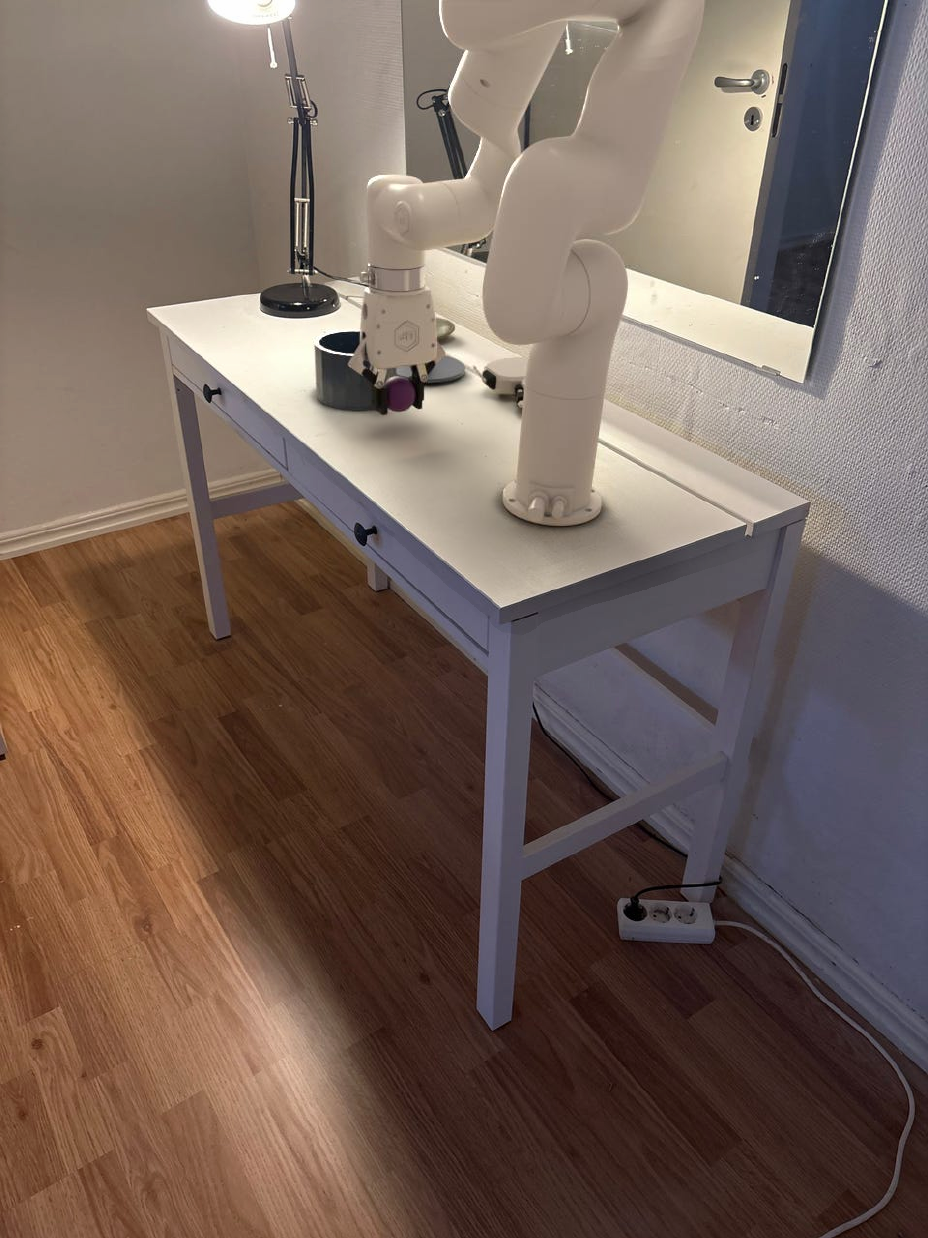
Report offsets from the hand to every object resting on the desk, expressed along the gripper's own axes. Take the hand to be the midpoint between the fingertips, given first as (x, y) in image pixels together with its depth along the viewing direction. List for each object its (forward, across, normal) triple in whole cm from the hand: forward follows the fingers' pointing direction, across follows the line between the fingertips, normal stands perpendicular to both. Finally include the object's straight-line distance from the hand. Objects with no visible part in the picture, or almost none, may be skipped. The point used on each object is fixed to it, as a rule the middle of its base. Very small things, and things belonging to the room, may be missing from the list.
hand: (398, 407), depth 133 cm
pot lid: (+2, +15, +21) cm, 26 cm away
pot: (+3, 0, +15) cm, 15 cm away
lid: (+3, +24, +38) cm, 45 cm away
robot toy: (+4, +24, +4) cm, 25 cm away
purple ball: (-2, 0, 0) cm, 2 cm away
